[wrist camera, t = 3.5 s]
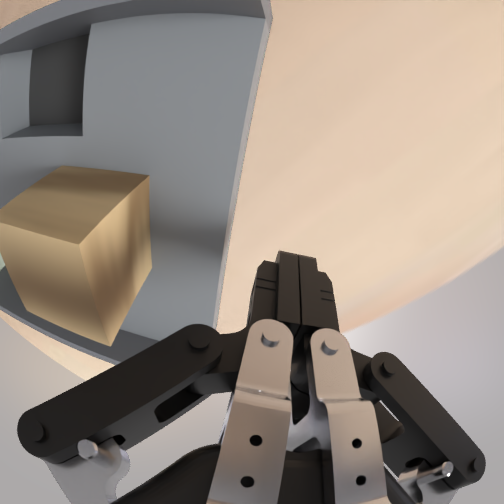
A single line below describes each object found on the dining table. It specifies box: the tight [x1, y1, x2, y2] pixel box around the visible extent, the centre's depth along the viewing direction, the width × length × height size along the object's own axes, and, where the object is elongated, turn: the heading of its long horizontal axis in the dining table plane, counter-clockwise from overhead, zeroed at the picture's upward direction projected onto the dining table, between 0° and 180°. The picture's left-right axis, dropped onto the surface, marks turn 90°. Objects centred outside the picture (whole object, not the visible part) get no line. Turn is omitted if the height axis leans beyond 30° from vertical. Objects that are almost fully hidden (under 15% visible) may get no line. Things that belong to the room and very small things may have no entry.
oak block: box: [0, 165, 152, 347], centre depth 10 cm, size 5×5×5 cm
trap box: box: [0, 0, 273, 365], centre depth 12 cm, size 20×30×6 cm, turn 80°
